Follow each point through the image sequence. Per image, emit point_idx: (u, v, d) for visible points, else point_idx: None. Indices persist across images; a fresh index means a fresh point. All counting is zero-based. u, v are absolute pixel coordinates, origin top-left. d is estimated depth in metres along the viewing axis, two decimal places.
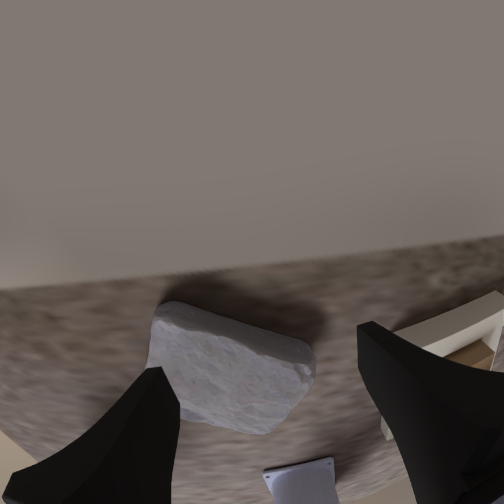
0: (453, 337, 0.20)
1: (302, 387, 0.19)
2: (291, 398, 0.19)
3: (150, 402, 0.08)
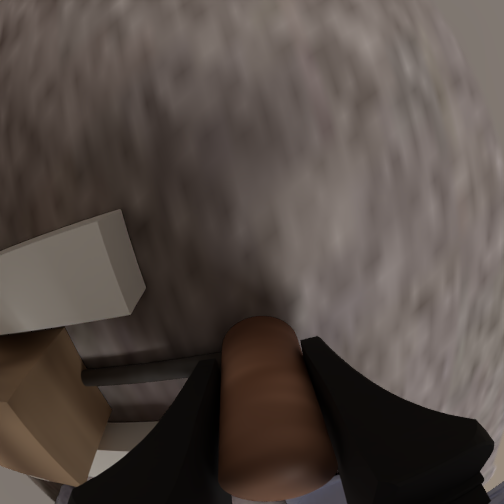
0: None
1: None
2: None
3: (211, 395, 0.08)
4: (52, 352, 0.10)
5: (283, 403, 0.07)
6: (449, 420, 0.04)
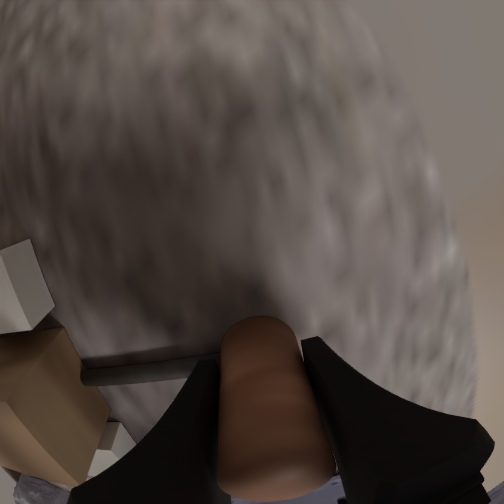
0: None
1: None
2: None
3: (210, 395, 0.08)
4: (51, 352, 0.10)
5: (281, 403, 0.07)
6: (449, 420, 0.04)
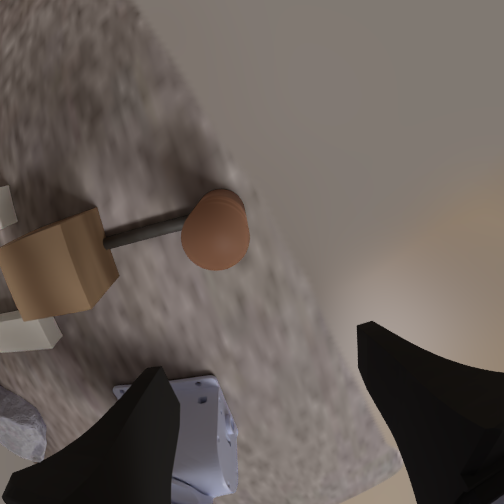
0: None
1: None
2: None
3: (150, 402, 0.08)
4: (88, 215, 0.17)
5: (220, 199, 0.14)
6: None
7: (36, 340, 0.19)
